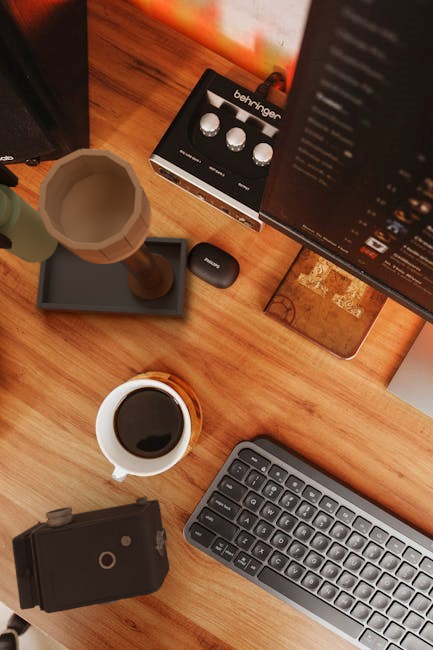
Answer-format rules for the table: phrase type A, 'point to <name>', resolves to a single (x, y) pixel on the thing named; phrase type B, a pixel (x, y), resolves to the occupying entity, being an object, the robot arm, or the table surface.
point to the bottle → (24, 228)
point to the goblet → (104, 217)
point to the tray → (109, 283)
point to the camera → (91, 557)
